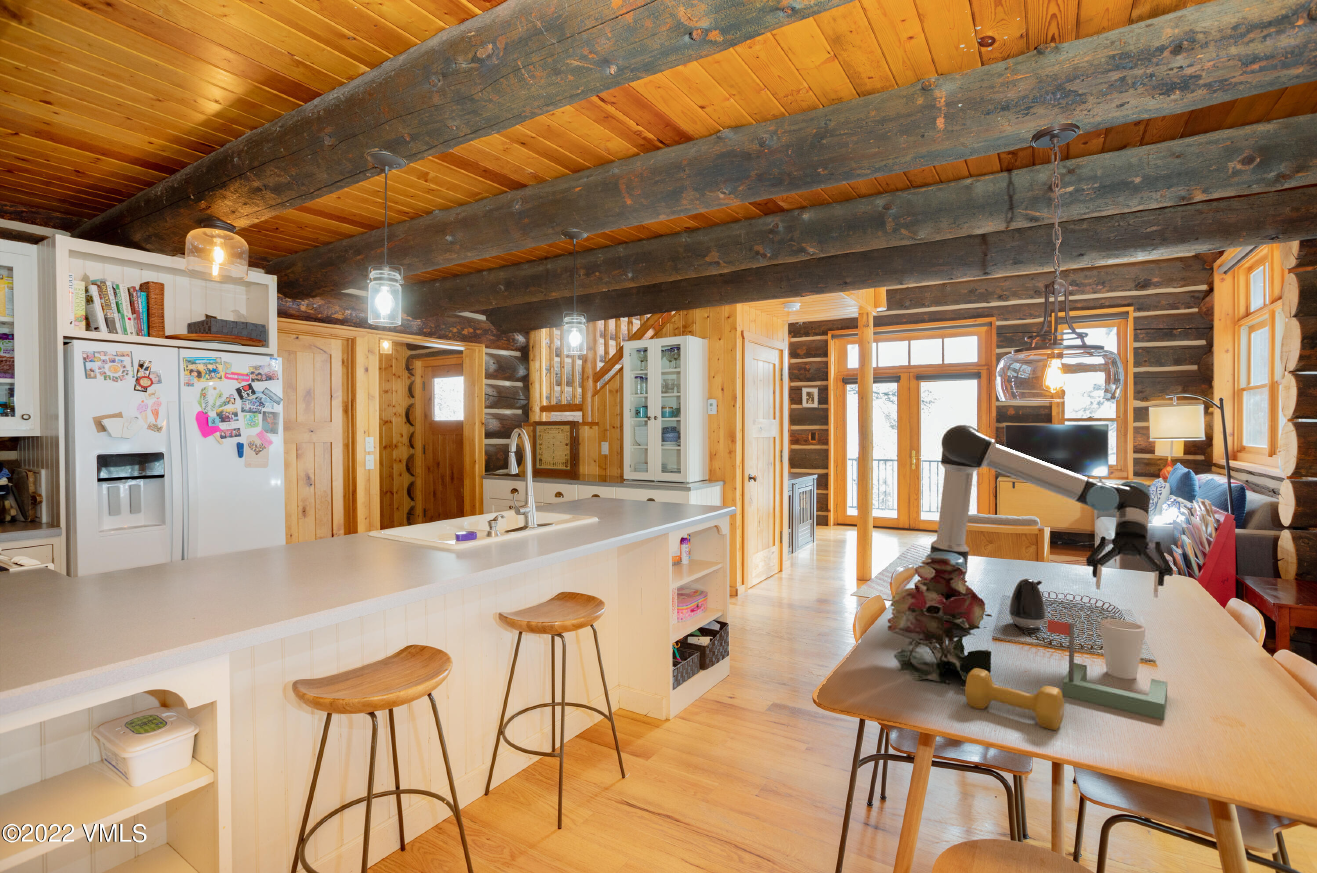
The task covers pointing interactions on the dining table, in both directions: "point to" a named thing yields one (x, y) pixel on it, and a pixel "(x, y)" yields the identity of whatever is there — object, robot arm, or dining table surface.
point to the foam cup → (1122, 647)
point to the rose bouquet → (938, 622)
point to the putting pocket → (1104, 695)
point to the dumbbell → (1016, 698)
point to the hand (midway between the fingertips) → (1126, 590)
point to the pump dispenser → (1027, 604)
